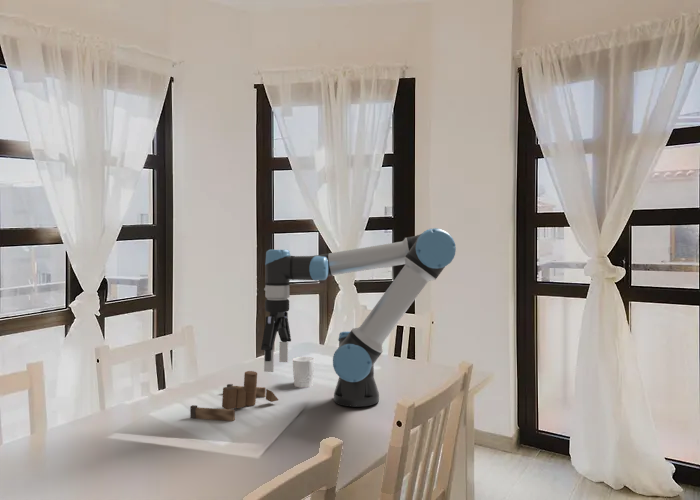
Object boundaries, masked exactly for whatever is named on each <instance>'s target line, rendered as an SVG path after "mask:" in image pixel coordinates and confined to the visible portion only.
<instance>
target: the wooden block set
mask: <svg viewBox="0 0 700 500" xmlns="http://www.w3.org/2000/svg"><path fill="white" fill-rule="evenodd" d="M243 377H244V379H243V386H244V390H243V389H242V388H240V387H238V386H239V385H233V386H234V387H232V386H229V387H227V386H224V387H223V388H222V400H221V401H222V403H221V406H222V409H231V410H234V409H235V408H236V409H240V408H243V407H246V406H247V407H248V406H249V407H251V406H253V407H254V406H255V405H256V403H257V402H256V401H257V399H256V398H257V397H256V387H258V386H257V384H258V372H257V371H254V370H247V371H245V372H244V375H243ZM265 391H266V396H265V400H266V401H268V402H270V403H272V402H277V401H279V398H278V397H277V396H276V395H275V393H274V392H273V391H272V390H270V389H268V388H265Z"/></svg>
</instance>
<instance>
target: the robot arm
mask: <svg viewBox="0 0 700 500" xmlns="http://www.w3.org/2000/svg"><path fill="white" fill-rule="evenodd" d="M456 249H457V248H456V242H455V240H454V238H453V237H452V235H451V234H449V232H448V231H445V230H444V229H441V228H436V227H434V228H429V229H426V230H424V231H423V232H422V233H420V234H417V235H414V236H408V237H404V238H403V240H402V241H396V242H391V243H383V244H378V245H372V246H367V247H360V248H355V249H354V248H353V249H347V250H342V251H335V252H330V253H323V254H318V255H317V254H316V255H300V256H299V255H291V253H290V252H291V251H290V250H289V249H268V250H266V252H265V263H264V265H265V266H264V268H265V276H264V277H265V278H264V279H265V280H264V281H265V287H264V288H263V291H265V292H264V293H265V294H264V296H265V297H264V298H266V299H265V300H264V310H265V312H267V313H269V316H265V322H264V323H265V324H264V330H263V335H262V336H263V337H262V341H261V346H260V347H261V348H260V350H261V351H264V353H263V355H264V357H263V360H264V361H263V362H264V363H263V364H264V365H263V372H264V373H273V372H274V366H275V364H274V363H275V358H274V357H275V356H274V354H275V350H274V349H273V348H274V345H275V340H276V337H277V333H278V336H279V340H280V341H279V345H278V346H279V350H278V351H279V353H278V355H279V356H278V357H279V358H278V359H279V363H289V342H292V338H291V332H290V325H289V324H290V322H289V316H288V315H289V313H288V312H289V310H290V300H289V298H290V297H291V296H290V295H291V294H290V281H314V282H315V281H316V282H317V281H326V280H327V278H328V277H331V276H336V275H343V274H350V273H355V272H356V273H357V272H362V271H369V270H375V269H382V268H388V267H389V268H390V267H396V266H402V265H404V266H403V267H402V269H400V271H399V272H398V274H397V275H396V277H395V278H394V279H393V280H392V282H391V284H389V287H388V288H387V289H386V290H385V291H384V293H383V294H382V296H381V297H380V299H379V300H378V301H377V303H376V304H375V305H374V307H373V308H372V310H370V312H369V314H368V315H367V316H366V318H365V319H364V320H363V322H362V323H361V325H360V326H359V327H354V328H353V327H352V329H351V330H350V331H340V332H339V334H338V339H337V340H338V347H337V349H336V350H335V351H334V353H333V356H332V367H333V370H334V372H335V374H336V375H337V376H338V379H337V382H336V386H335V390H334V392H333V401H334V403H336V404H337V405H341V406H345V407H354V408H355V407H356V408H358V407H368V406H373V405H375V404H377V403H379V402H380V393H379V390H378V386H377V384H376V380H375V375H374V374H375V371H374V370H375V367H374V364H375V363H376V362H377V360H378V359H379V358H380V356H381V355H382V353H383V351H384V349H383V344H384V342H385V341H386V339H387V338H388V337H389V336H390V334H391V333H392V331H393V330H394V329H395V327H396V326H397V324H398V323H399V321H401V319H402V317H403V316H404V315H405V313H406V312H407V311H408V310H409V308H410V306H412V304H413V303H414V302H415V300H416V298H417V297H418V295H420V294H421V292H422V291H423V290H424V288H425V286H426V285H427V284H428V282H431V281H436V280H437V279H438V277H439V276H440V274H441V273H442V272H443V270H445V268H446V267H447V266H449V264H451V263H452V262H453V260H454V258H455V256H456V252H457V251H456Z"/></svg>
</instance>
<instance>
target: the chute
mask: <svg viewBox="0 0 700 500" xmlns="http://www.w3.org/2000/svg"><path fill="white" fill-rule="evenodd" d="M229 386H232V387H234V386H235V385H233V383H228V384H226V387H229ZM237 386H238V387H240V388H242V389H243V390H244V385H241V386H240V385H237ZM257 397H258V398H266V387H265V386H264V387H262V386H261V387H260V386H259V387H258V386H256V398H257ZM189 411H190V414H189V415H190V419H197V420H198V419H199V420H215V421H225V422H227V421H228V422H234V421H235V420H236V417H235V416H236V410H235V409H225V408H215V407H213V408H212V407H199V406H198V405H195V404H194V405H190V410H189Z"/></svg>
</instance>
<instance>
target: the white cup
mask: <svg viewBox="0 0 700 500" xmlns="http://www.w3.org/2000/svg"><path fill="white" fill-rule="evenodd" d="M314 372H315V358H314V357H310V356H299V357H294V358H292V373H293V374H292V375H293V385H294V387H296V388H300V389H307V388H311V387H313V386H314V374H315V373H314Z"/></svg>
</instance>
